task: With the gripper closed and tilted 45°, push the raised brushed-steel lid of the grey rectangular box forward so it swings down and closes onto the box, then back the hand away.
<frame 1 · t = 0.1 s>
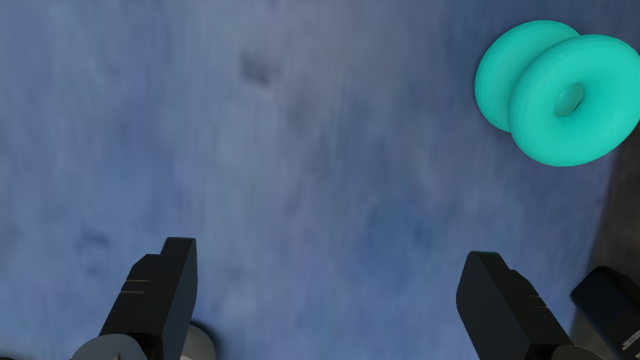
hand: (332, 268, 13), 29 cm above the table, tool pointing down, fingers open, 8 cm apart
smart speaker: (180, 341, 54), on the table
wine bottle: (597, 287, 54), on the table
donuts: (523, 74, 41), on the table
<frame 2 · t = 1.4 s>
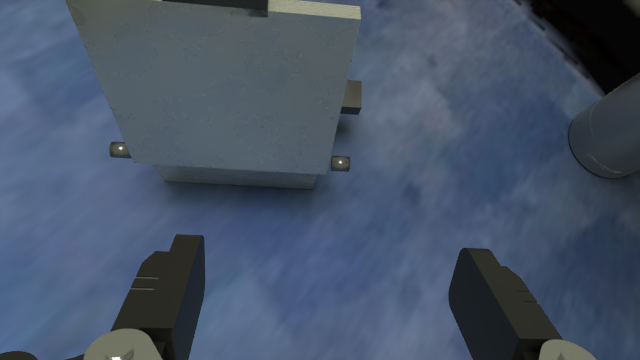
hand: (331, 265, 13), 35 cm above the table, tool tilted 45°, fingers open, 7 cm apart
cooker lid: (224, 82, 32), point 19 cm above the table, hinge at 75.0°
grey rectangular box: (245, 118, 52), on the table
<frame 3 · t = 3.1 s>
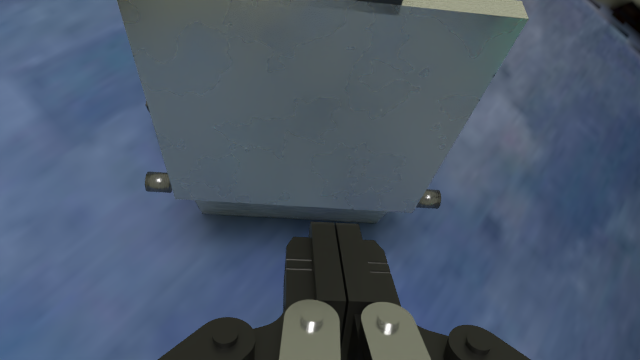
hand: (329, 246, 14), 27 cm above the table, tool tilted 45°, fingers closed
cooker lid: (311, 101, 24), point 19 cm above the table, hinge at 75.0°
grey rectangular box: (294, 138, 44), on the table
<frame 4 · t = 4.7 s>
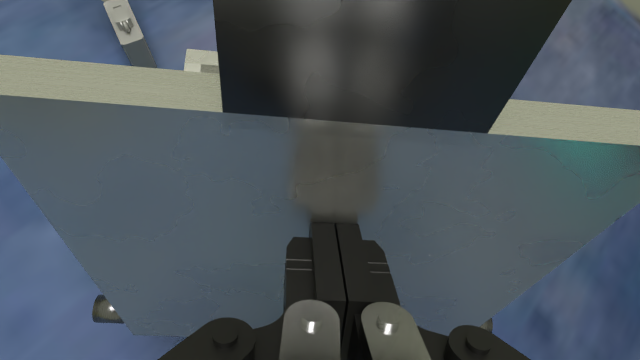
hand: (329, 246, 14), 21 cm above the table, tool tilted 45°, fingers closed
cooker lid: (322, 240, 16), point 19 cm above the table, hinge at 72.3°, touching gripper
lighter: (133, 39, 39), on the table
grey rectangular box: (297, 211, 36), on the table
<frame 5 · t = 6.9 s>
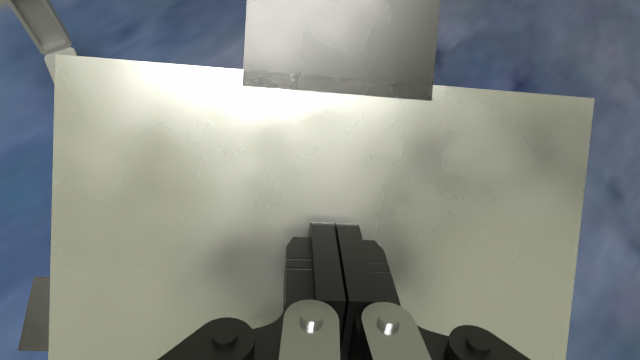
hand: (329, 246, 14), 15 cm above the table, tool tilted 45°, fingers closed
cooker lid: (323, 282, 15), point 13 cm above the table, hinge at 22.0°, touching gripper
lighter: (90, 95, 31), on the table
grey rectangular box: (297, 321, 28), on the table
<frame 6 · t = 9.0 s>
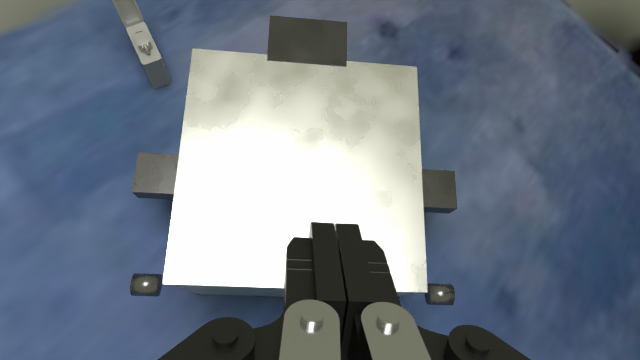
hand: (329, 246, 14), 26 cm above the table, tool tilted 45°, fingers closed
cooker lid: (303, 143, 33), point 10 cm above the table, hinge at -0.1°
lighter: (149, 57, 44), on the table
grey rectangular box: (295, 206, 41), on the table
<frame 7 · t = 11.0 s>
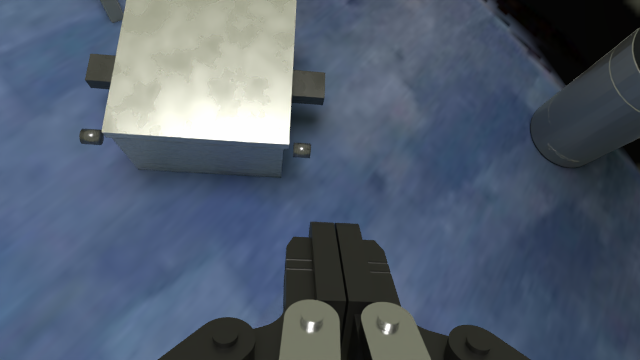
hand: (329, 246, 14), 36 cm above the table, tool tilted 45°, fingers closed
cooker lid: (209, 46, 46), point 10 cm above the table, hinge at -0.1°
grey rectangular box: (217, 110, 54), on the table
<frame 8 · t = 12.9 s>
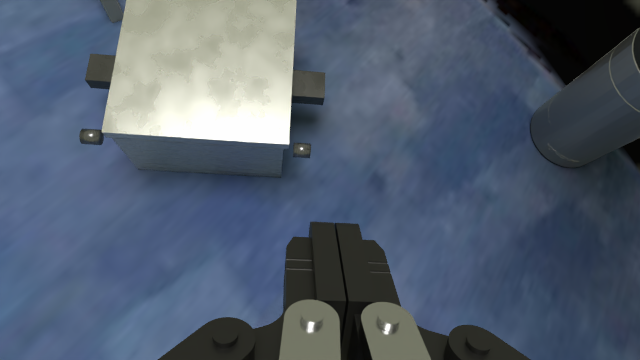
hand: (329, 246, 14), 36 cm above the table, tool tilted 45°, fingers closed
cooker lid: (209, 46, 46), point 10 cm above the table, hinge at -0.1°
grey rectangular box: (217, 110, 54), on the table
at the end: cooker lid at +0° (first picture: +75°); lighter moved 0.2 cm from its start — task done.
